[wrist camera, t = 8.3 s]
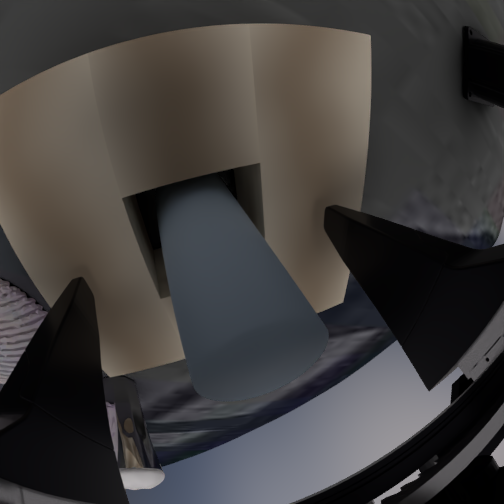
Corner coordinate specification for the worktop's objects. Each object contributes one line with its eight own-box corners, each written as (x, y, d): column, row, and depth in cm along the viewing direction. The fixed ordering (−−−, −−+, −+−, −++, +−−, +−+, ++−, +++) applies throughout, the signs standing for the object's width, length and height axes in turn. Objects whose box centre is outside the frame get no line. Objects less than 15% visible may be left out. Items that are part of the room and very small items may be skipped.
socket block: (319, 37, 10) (370, 35, 7) (314, 266, 18) (342, 302, 16) (6, 104, 7) (-36, 120, 4) (108, 329, 15) (110, 377, 13)
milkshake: (81, 393, 18) (96, 502, 11) (101, 365, 17) (121, 497, 10) (126, 403, 21) (149, 503, 14) (153, 378, 20) (183, 495, 12)
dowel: (218, 154, 12) (338, 296, 5) (226, 215, 14) (320, 371, 7) (147, 172, 11) (172, 353, 4) (163, 232, 13) (209, 412, 6)
